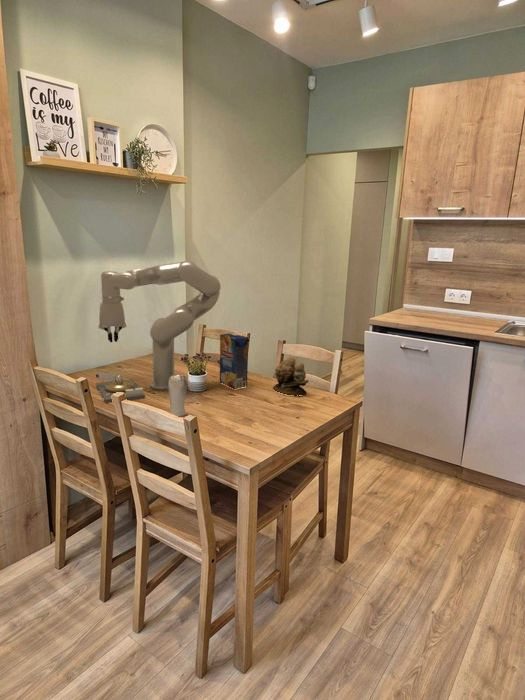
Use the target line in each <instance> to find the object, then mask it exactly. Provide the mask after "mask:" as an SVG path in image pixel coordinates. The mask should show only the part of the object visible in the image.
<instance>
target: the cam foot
mask: <svg viewBox="0 0 525 700" xmlns="http://www.w3.org/2000/svg"><path fill="white" fill-rule="evenodd" d="M95 377H96V378H97V380H103V381H106V382H107V383H106V384H105V390H106V391H108V392H114V393H116V392H125V390H127V389H133V388H134V383H133V382H132V381H130V380H129V379H124V376H123V374H113V373H107V372H98V373H96V374H95Z"/></svg>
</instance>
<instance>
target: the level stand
mask: <svg viewBox="0 0 525 700" xmlns="http://www.w3.org/2000/svg"><path fill="white" fill-rule="evenodd" d="M128 380H130V381H132V382H133V383H134V388H133V389H127V390H125V392H124V393H125V394H126V399H127V401H132V400H139V399H145V398H146V396H145V393H144V388H143V387H139V386H138V385H137V384H136V382H135V381H134V379H133V378H128ZM107 382H108V381H103V382H96V383H95V386H97V387H96V389H97V390H98V392H99V391H100V392H99V394H100V393H101V394H100V395H102V396H101V397H103V398H104V400H105V401H104V400H103V401H104V403H105V402H112V399H111V395H112V394H113V393H114V392H108V391H106V390H105V384H106V383H107ZM103 398H102V399H103ZM112 403H113V402H112Z"/></svg>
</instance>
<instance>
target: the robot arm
mask: <svg viewBox="0 0 525 700" xmlns="http://www.w3.org/2000/svg"><path fill="white" fill-rule="evenodd" d="M100 278H101V279H100V281H101V300H102V302H101V303H100V304H99V317H98V318H99V324H98V329H100V330H103V331H105V332H106V333H107V341H109V342H110V343H113V340H114V342H116V343H117V342H118V340H119V333H120V331H121V330H122V329H125V328H127V324H126V321H125V319H126V318H125V311H124V305H123V303H122V301H125V298H124V296H123V297H122V296H121V290H133V289H135V288H137V287H141V286H147V285H148V286H151V285H158V286H159V285H160V286H162V285H170V284H175V283H182V282H184V283H185V284H188V285H189V286H190V287H191V288H193V289H195V290H197V291H198V292H199V293H198V294H197V295H196V296H195V297H193V298H192V299H190V300H189V301H187V302H186V303H183V304H182V305H180V306H178V307H176V309H174V311H172V313H170V314H169V315H167V316H165V317H160V318H158V319H156V320H155V321H154V322H153V324H152V326H151V327H150V333H149V335H150V337H151V339H152V376H153V377H152V378H153V379H152V380H153V381H151V382H150V383H149V387H150V388H151V389H154V390H159V391H160V390H161V391H164V390H165V391H168V380H169V377H170V376H173V375H175V338H177V337H178V336H181V334H183V333H185V332H186V331H188V330H189V329H190V328H191V327H192V326H193V324H194V323H195V321H196V320H198V319H199V318H200V317H202V316H203V315H205V314H207V313H208V312H210V311H211V310H212V309H213V308H214V307H215V305H216V304H217V302H218V300H219V298H220V293H221V292H220V291H221V283H220V280H219V279H218V278H217V277H216V276H215V275H211V274H209V273H208V272H206V270H204V269H202V268H200V267H199V266H198V265H197V264H196V263H195V262H193V261H191V260H184V261H178V262H171V263H165V264H159V265H154V266H152V267H144V268H138V269H133V270H132V269H130V270H126V271H125V272H118V271H111V270H108V271H102V272H101V274H100ZM112 327H114V332H113V333H112V331H111V330H112Z"/></svg>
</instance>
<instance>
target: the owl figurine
mask: <svg viewBox="0 0 525 700" xmlns="http://www.w3.org/2000/svg"><path fill="white" fill-rule="evenodd" d="M274 370H275V372H274V374H275V378H276V380H277V382H278V383H276V384H275V385H273V386H272V390H273V389H274V390H275V391H277V392H280V393H283V394H287V395H294V396H297V395H298V396H299V395H303V396H305V395H304V394H306V395H307V391H306V390H305V388H303V387H304V386H306V384H308V383H309V382H310V381H309V379H306V378H307V374H306V372H305V365H304V363H303V362H301V361H297V362H296V359H295V357H294V356H289V357H287V358H285V359H284V360H282V361H281V362H280V363H279V364H278V365H277V366H276V367H275V369H274ZM299 397H300V396H299Z"/></svg>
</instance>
